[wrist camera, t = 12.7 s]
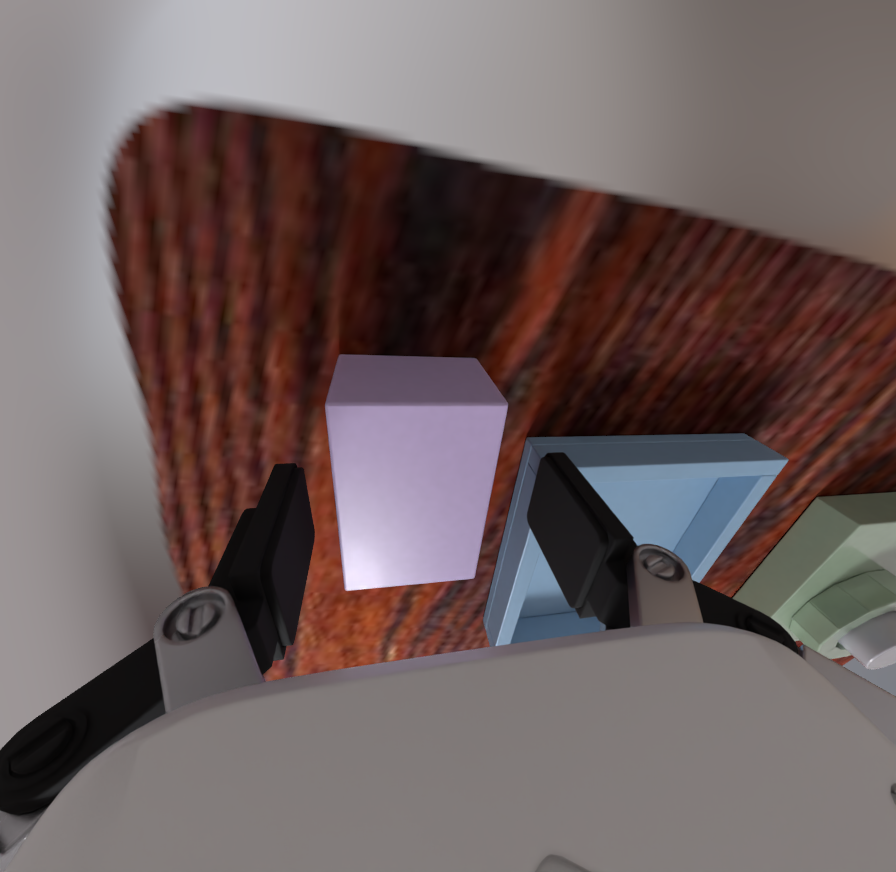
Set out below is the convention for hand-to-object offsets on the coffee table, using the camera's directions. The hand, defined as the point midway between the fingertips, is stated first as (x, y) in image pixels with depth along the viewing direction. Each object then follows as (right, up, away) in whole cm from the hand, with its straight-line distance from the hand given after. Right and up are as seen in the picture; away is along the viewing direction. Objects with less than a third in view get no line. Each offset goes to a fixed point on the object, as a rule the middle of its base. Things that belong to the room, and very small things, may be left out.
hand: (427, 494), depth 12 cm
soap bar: (-1, +2, +2) cm, 2 cm away
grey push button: (+26, -10, +10) cm, 30 cm away
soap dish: (+8, -3, +7) cm, 11 cm away
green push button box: (+26, -6, +12) cm, 29 cm away
